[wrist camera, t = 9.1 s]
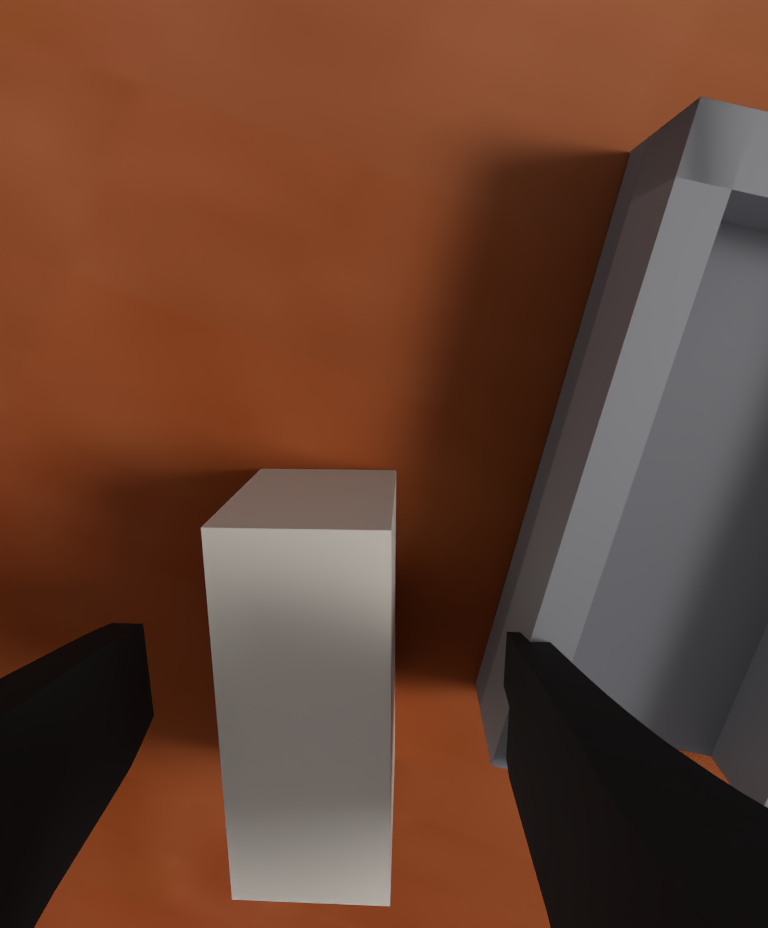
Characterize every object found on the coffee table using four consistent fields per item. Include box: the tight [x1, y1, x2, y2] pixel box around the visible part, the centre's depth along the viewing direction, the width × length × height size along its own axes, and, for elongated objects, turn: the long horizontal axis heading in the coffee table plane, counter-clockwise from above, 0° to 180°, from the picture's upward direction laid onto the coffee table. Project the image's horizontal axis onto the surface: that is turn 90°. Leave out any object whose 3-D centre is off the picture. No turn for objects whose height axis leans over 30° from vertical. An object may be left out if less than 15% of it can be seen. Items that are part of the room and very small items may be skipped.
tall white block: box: [201, 469, 396, 906], centre depth 11 cm, size 7×3×4 cm, turn 0°
